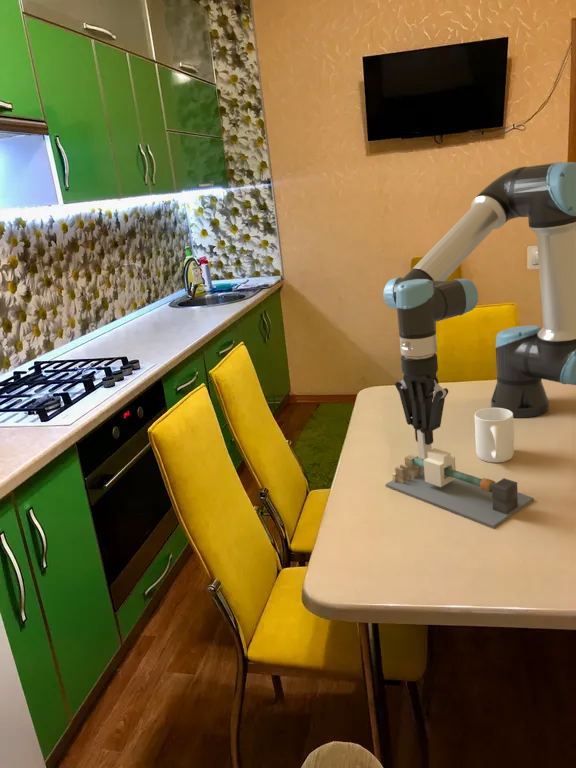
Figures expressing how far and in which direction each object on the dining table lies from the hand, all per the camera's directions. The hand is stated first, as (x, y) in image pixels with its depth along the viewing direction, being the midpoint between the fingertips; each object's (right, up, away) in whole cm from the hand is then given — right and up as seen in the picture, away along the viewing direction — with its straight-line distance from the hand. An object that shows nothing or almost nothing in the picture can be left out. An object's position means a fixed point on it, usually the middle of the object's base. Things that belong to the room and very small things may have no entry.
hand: (425, 456), depth 137 cm
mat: (+6, -8, -4) cm, 10 cm away
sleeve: (+3, -5, -1) cm, 6 cm away
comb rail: (+6, -8, -4) cm, 10 cm away
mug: (+19, -2, +9) cm, 21 cm away
